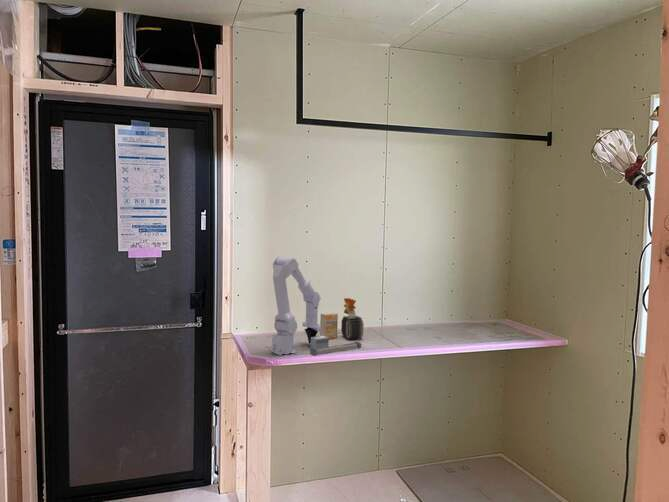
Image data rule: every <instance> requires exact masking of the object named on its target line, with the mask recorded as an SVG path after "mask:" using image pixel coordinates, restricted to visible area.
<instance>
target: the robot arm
mask: <svg viewBox="0 0 669 502" xmlns="http://www.w3.org/2000/svg"><path fill="white" fill-rule="evenodd" d="M272 269H273V275H272V280H273V281H272V282H273V286H274V287H273V288H274V293H275V294H274V295H275V301H276V306H277V312H278V313H277V314H276V315H275V317H274V324H273V325H274V329H275V331H276V334H273V335H272V338H271V352H272V353H273V354H276V355H277V354H278V355H277V356H283V355H282V354H285V355H290V354H289V353H292V354H296V353H297V354H298V351H296V350H294V334H296V332H297V329H298V323H297V320H296V319H295V318H296V317H295V316H294V314H292V312H291V308H290V301H289V294H288V288H287V280H286V279H288V278H289V277H290V276H292V278H294V280H295V281H296V282H297V283H298V285H297V286H298V287H297V288H298V289H299V290H300V292H301V293H302V296H303V301H304V302H305V321H303V322H302V327H306V328H304V331H305V334H306V336H307V340H308V344H310V345H311V337H317V335H318V332H320V331H321V327H320V324H319V323H318V318H319V316H318V312H319V309H318V308H319V305H320V301H321V296H320V294H319V293H318V292H317V291H315V289H314V287H313V286H312V285H311V281H310V280H308V279H305V278H304V276H303V274H302V272H301V269H300V268H299V262H298V261H297V260H296V258H295V257H282V256H277V257H276V258H275V259H274V261H273V262H272Z"/></svg>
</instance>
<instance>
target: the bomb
mask: <svg viewBox="0 0 669 502" xmlns="http://www.w3.org/2000/svg"><path fill="white" fill-rule="evenodd" d="M343 301H344V303H345V304H343V307H344V311H343V313H344V314H346V315H344V316H343V317H342V319H341V325H340V326H341V329H340V330H341V335H342V338H344V339H346V340H347V341H352V340H353V341H354V340H362V338H363V336H364V324H365V323H364V321H363V320H362V319H363V318H362V317H361V316H358V315H356V312H355V309H356V306H355V305H356V302H357V301H356V299H352V298H349V297H347V298H346V297H345V298H343ZM347 315H348V316H347Z"/></svg>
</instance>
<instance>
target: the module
mask: <svg viewBox="0 0 669 502" xmlns="http://www.w3.org/2000/svg"><path fill="white" fill-rule="evenodd" d="M329 340H330V339H329V338H328V337H325V336H320V335H318V336H317V335H316V337H311V344H310V349H312V348H313V349H317V348H323V347H329V344H330V343H329Z"/></svg>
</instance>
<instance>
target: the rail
mask: <svg viewBox="0 0 669 502" xmlns="http://www.w3.org/2000/svg"><path fill="white" fill-rule="evenodd" d="M355 349H362V343H361V342H357V341H354V342H351V343H345V344H337V345H331V346H328V347H323V348H317V349H313V348H312V349H311V348H309V353H311V354H310V355H312V354H313V355H312V356H317V355H324V354H331V353H336V352H343V351H349V350H355Z"/></svg>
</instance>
